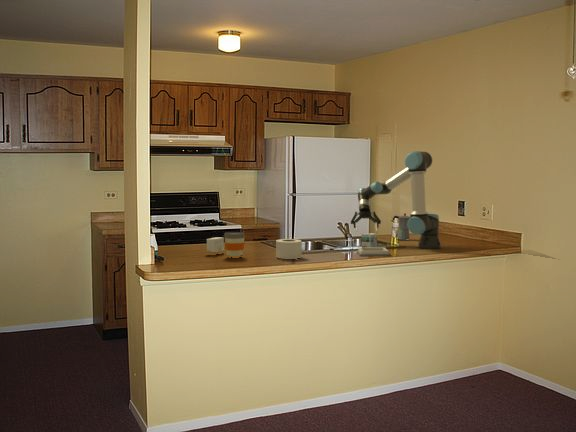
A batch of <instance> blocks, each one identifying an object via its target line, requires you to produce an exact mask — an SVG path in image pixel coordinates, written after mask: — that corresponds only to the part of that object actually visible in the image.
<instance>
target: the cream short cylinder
mask: <svg viewBox="0 0 576 432" xmlns="http://www.w3.org/2000/svg"><path fill="white" fill-rule="evenodd" d="M275 241H276V244H275V248H276V249H275V258H276V257H278V258H284V259H296V260H298V259H297V258H301V257H302V253H303V252H302V250H303V249H302V246H303V245H302V244H303V243H302V240H300V239H293V238H284V239H282V238H281V239H276V240H275ZM301 259H302V258H301Z"/></svg>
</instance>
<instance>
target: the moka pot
mask: <svg viewBox="0 0 576 432" xmlns="http://www.w3.org/2000/svg"><path fill="white" fill-rule="evenodd" d="M395 219H398V220H397V221H398V233H397V237H398V239H399V240H398V239H397V240H398V241H407V240H406V239H409V240H410V230H409V229H408V220H409V219H410V215H409V216H408V215H407V213H405V212H404V213H403V215H394V216H393V217H392V221H393V220H395Z"/></svg>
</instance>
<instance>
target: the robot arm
mask: <svg viewBox="0 0 576 432" xmlns="http://www.w3.org/2000/svg"><path fill="white" fill-rule="evenodd" d="M432 163H433V157H432V155H431V154H430V153H429V152H427V151H420V150H419V151H418V150H417V151H411V152H408V153H407V154H406V156H405V158H404V165H405V167H404V168H403V169H402V170H400V171H399V172H397V173H396V174H394V175H392V176H391V177H389V178H388V179H386V180H385V181H383V182H382V183H381V182H380V181H377V180H376V181H375V182H374V181H373V182H372V183H371V184H370V185H368V186H367V187H362V188H359V189H358V191H357V200H358V211H355V212H354V214H353V217H352V219H351V220H350V224H351V225H353V229H355V233H358V226H357V225H358V224H357V223H358V222H360V221H361V220H362V219H368V220H371V221H372V222H373V223H374V225H375V234H378V231H379V230H378V229H379V226H380V225H381V223H382V221H381V219H380V217H378V215H377V214H376V212H375V211H373V212H371V205H370V204H371V203H370V199H372V198H373V197H374V196H378V195H389V194H390V193H391V192H392V190H394V189H395V188H397V187H398V186H400V185H401V184H403V183H405V182H407V181H408V180H409V179H410V184H411V208H412V209H411V212H410V214H409V217H410V219H409V220H408V229H409V232H411V233H412V234H414V235H420V237H419V240H418V244H417V248H418V249H425V250H438V249H441V248H442V243H441V240H440V237H439V235H440V234H439V230H440V229H439V227H440V226H439V224H440V218H439V217H440V216H439V214H437V213H429V212H428V211H427V210H426V207H427V206H426V191H425V190H426V188H425V175H426V173H427V169H429V168H430V167H431V166H432V165H433V164H432ZM358 215H359V216H358Z"/></svg>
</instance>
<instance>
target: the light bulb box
mask: <svg viewBox="0 0 576 432" xmlns="http://www.w3.org/2000/svg"><path fill="white" fill-rule="evenodd" d="M377 241H378V233H376V232H375V233H372V232H366V233H362V234H361V247H378V242H377Z"/></svg>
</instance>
